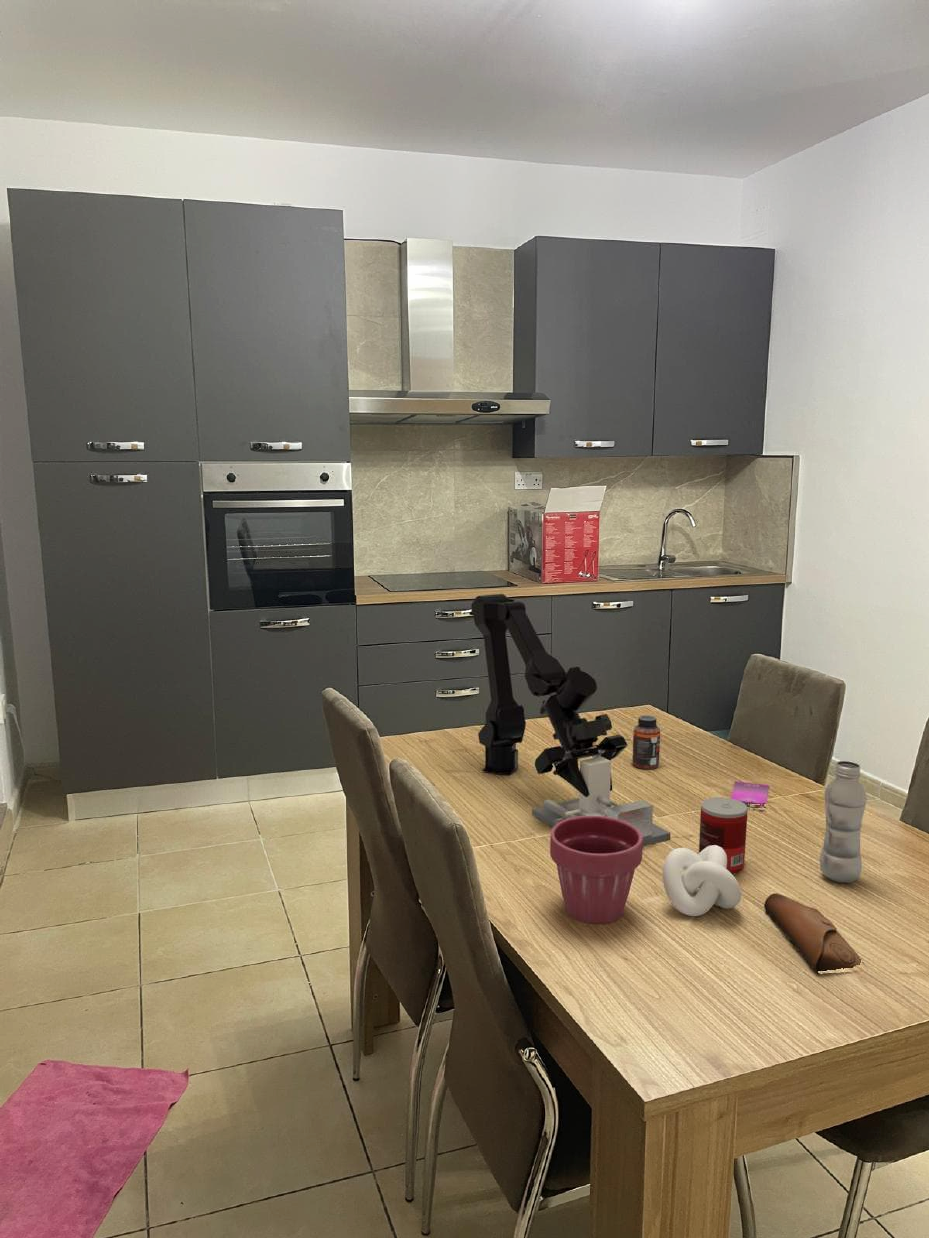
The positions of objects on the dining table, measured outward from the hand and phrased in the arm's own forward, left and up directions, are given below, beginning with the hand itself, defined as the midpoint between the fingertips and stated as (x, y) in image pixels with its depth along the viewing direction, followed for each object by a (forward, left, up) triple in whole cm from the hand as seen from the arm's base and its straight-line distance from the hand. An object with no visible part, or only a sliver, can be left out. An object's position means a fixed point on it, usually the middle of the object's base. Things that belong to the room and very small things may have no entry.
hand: (599, 793), depth 174 cm
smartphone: (+26, +26, -7) cm, 37 cm away
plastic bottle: (+43, -7, -7) cm, 44 cm away
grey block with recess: (+7, -6, -5) cm, 10 cm away
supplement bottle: (+3, +37, -7) cm, 38 cm away
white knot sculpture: (+23, -25, -7) cm, 34 cm away
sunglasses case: (+39, -29, -7) cm, 49 cm away
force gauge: (-2, 0, -5) cm, 5 cm away
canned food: (+24, -9, -7) cm, 26 cm away
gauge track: (0, 0, -7) cm, 7 cm away
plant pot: (+7, -32, -7) cm, 33 cm away
